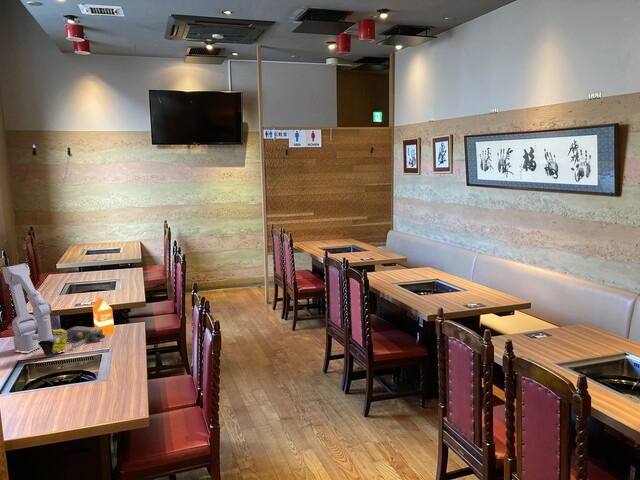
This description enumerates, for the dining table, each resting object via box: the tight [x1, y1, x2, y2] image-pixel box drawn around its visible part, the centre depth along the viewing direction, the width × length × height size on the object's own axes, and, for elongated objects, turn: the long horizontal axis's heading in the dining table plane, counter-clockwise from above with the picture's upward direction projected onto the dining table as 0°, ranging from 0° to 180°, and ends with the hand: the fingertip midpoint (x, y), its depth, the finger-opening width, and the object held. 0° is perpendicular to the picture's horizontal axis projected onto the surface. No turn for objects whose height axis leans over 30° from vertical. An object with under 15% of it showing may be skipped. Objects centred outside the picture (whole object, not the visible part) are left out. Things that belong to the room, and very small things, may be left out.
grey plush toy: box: [65, 325, 106, 349], centre depth 258 cm, size 21×17×6 cm
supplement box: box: [51, 328, 67, 355], centre depth 245 cm, size 6×6×11 cm
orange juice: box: [92, 296, 115, 337], centre depth 269 cm, size 8×9×20 cm
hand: (48, 354), depth 241 cm, fingers closed
